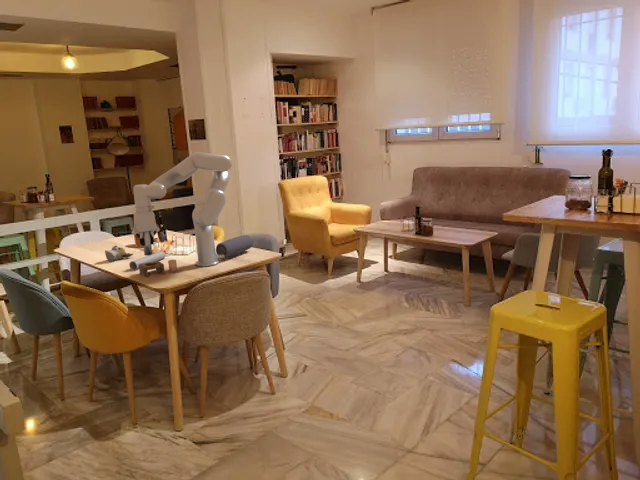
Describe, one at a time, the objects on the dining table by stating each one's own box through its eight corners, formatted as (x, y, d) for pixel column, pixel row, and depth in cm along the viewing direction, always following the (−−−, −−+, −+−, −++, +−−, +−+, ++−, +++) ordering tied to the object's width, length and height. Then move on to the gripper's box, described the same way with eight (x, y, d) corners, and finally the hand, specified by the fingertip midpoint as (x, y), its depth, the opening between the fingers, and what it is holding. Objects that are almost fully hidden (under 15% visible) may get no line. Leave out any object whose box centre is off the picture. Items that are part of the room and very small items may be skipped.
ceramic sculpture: (99, 246, 290) (122, 242, 302) (100, 261, 292) (123, 256, 304) (110, 248, 284) (133, 244, 296) (111, 263, 286) (134, 258, 298)
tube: (158, 251, 293) (127, 262, 271) (165, 248, 291) (134, 259, 269) (161, 259, 294) (131, 271, 271) (168, 257, 292) (138, 269, 269)
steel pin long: (151, 253, 262) (148, 230, 260) (153, 254, 259) (151, 231, 256) (143, 254, 260) (140, 231, 257) (145, 255, 257) (143, 232, 254)
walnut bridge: (158, 269, 269) (157, 260, 268) (164, 273, 261) (163, 264, 260) (139, 273, 264) (138, 264, 262) (145, 277, 255) (144, 268, 254)
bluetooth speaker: (241, 249, 302) (240, 233, 300) (254, 251, 297) (253, 234, 295) (215, 259, 283) (214, 241, 281) (228, 260, 278) (227, 243, 276)
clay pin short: (176, 270, 266) (174, 259, 265) (178, 271, 263) (177, 260, 261) (168, 271, 264) (167, 260, 262) (170, 273, 261) (169, 262, 259)
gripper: (157, 206, 262) (161, 241, 266) (124, 210, 253) (128, 246, 257) (162, 208, 256) (166, 243, 260) (128, 212, 247) (132, 248, 251)
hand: (147, 244), depth 258 cm, fingers closed on steel pin long, 4 cm apart
